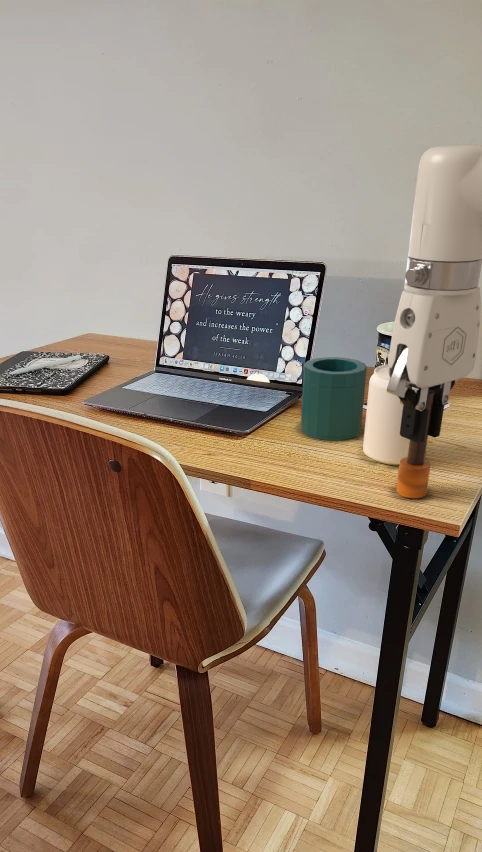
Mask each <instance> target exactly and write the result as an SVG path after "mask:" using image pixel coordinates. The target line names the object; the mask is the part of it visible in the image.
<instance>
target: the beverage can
mask: <svg viewBox="0 0 482 852" xmlns="http://www.w3.org/2000/svg"><path fill="white" fill-rule="evenodd" d="M390 379H391V378H390V376H389V373H388V364H382V365H379V366H376V367H375V368H374V370H373V374H372V375H371V376H370V379H369V383H368V393H367V402H366V412H365V413H366V414H365V422H364V423H365V424H364V434H363V443H362V444H363V445H362V451H363V453H364V454H365V455H366V456H367V457H368V458H370V459H372V460H374V461H376V462H378V463H382V464H385V465H393V466H399V465H400V460H401V459H402V458H405V457H407V456H408V449H409V441H410V440H409V439H407V438H404V437H402V436H401V435H400V427H401V419H402V411H403V405H401V404H400V399H399V397H398V396H396V395H393V394H390V393H388V392H387V387H388V384H389V381H390ZM412 389H413V390H414V391H415V392H416V391H417V388H414V387H412Z"/></svg>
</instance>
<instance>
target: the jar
mask: <svg viewBox="0 0 482 852" xmlns="http://www.w3.org/2000/svg"><path fill="white" fill-rule="evenodd" d="M367 371H368V366H367V365H366V363H365V362H362V361H360V360H358V359H353V358H350V357H341V356H340V357H339V356H323V357H316V358H311V359H309V360H306V361H305V362H304V363H303V373H302V375H303V377H302V392H301V393H302V394H301V410H300V411H301V413H300V430H301V432H302V433H303V434H305V435H306V436H308V437H310V438H312V439H317V440H323V441H344V440H345V441H346V440H350V439H353V438H355V437H357V436H359V435H360V434H361V429H362V423H363V412H364V403H365V392H366V381H367Z"/></svg>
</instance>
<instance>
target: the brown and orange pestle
mask: <svg viewBox="0 0 482 852" xmlns="http://www.w3.org/2000/svg"><path fill="white" fill-rule="evenodd" d="M417 390H418V389H417ZM416 394H417V391H416ZM433 398H434V391H433V390H431V389H428V394H427V401H426V407H425V409H426V410H429V411H428V419H427V426H426V433H425V439H424V441H423V442H421V443H417V442H415V441H412V440H410V441H409V449H408V456H407V457H405V458H402V459H401V460H400V465H398V472H397V473H398V474H397V481H396V489H395V491H396V493H397V494H398V495H400V496H401V497H403V498H407V499H421V498H424V497H425V496H426V495H427V492H428V487H429V486H428V484H429V480H430V479H429V478H430V472H431V465H432V464H431V462H430V461H429V460H428V459H426V453H427V445H428V438H429V435H428V432H429V426H430V419H431V412H432V405H433Z"/></svg>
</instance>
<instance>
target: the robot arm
mask: <svg viewBox="0 0 482 852" xmlns="http://www.w3.org/2000/svg"><path fill="white" fill-rule="evenodd" d="M408 243H409V244H408V251H407V260H406V269H405V275H404V276H405V277H404V284H403V285H404V286H403V290H402V292H401V295H400V299H399V303H398V306H397V310H396V315H395V318H394V323H393V328H392V333H391V339H390V345H389V352H388V364H387V365H388V373H389V376H390V378H391V379H390V381H389V384H388V387H387V392H388V393H390V394H393V395H396V396H398V397H399V399H400V404H401V405H403V411H402V419H401V427H400V435H401V436H402V437H404V438H407V439H409V440H412V441H415V442H417V443H421V442H423V441H424V439H425V433H426V426H427V419H428V411H429V410H426V409H425V407H426V401H427V394H428V389H431V390H433V391H434V398H433V405H432V412H431V419H430V426H429V432H428V437H431V438H435V439H436V438H439V437H440V435H441V429H442V424H443V423H442V422H443V416H444V411H445V405H446V404H448V402H449V400H450V394H451V391H452V389H453V388H454V386H455V385H456V383H457V382H458V381H460V380H461V379H463V378H465V377H467V376H469V375H470V374H471V373H472V372H473V371H474V369H475V364H476V359H477V352H478V351H477V350H478V344H479V336H480V335H479V334H480V325H481V310H482V309H481V307H482V305H481V304H482V303H481V288H480V286H479V283H480V277H481V271H482V145H475V144H474V145H473V144H466V145H465V144H464V145H461V144H460V145H459V144H458V145H457V144H455V145H437V146H432V147H430V148H428V149H427V150H425V151H424V152H423V154H422V155H421V158H420V159H419V162H418V169H417V175H416V183H415V191H414V201H413V209H412V218H411V226H410V235H409V242H408ZM412 387H414V388H417V389H418V390H417V394H416V392H415V391H414V390H413V389H412Z"/></svg>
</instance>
